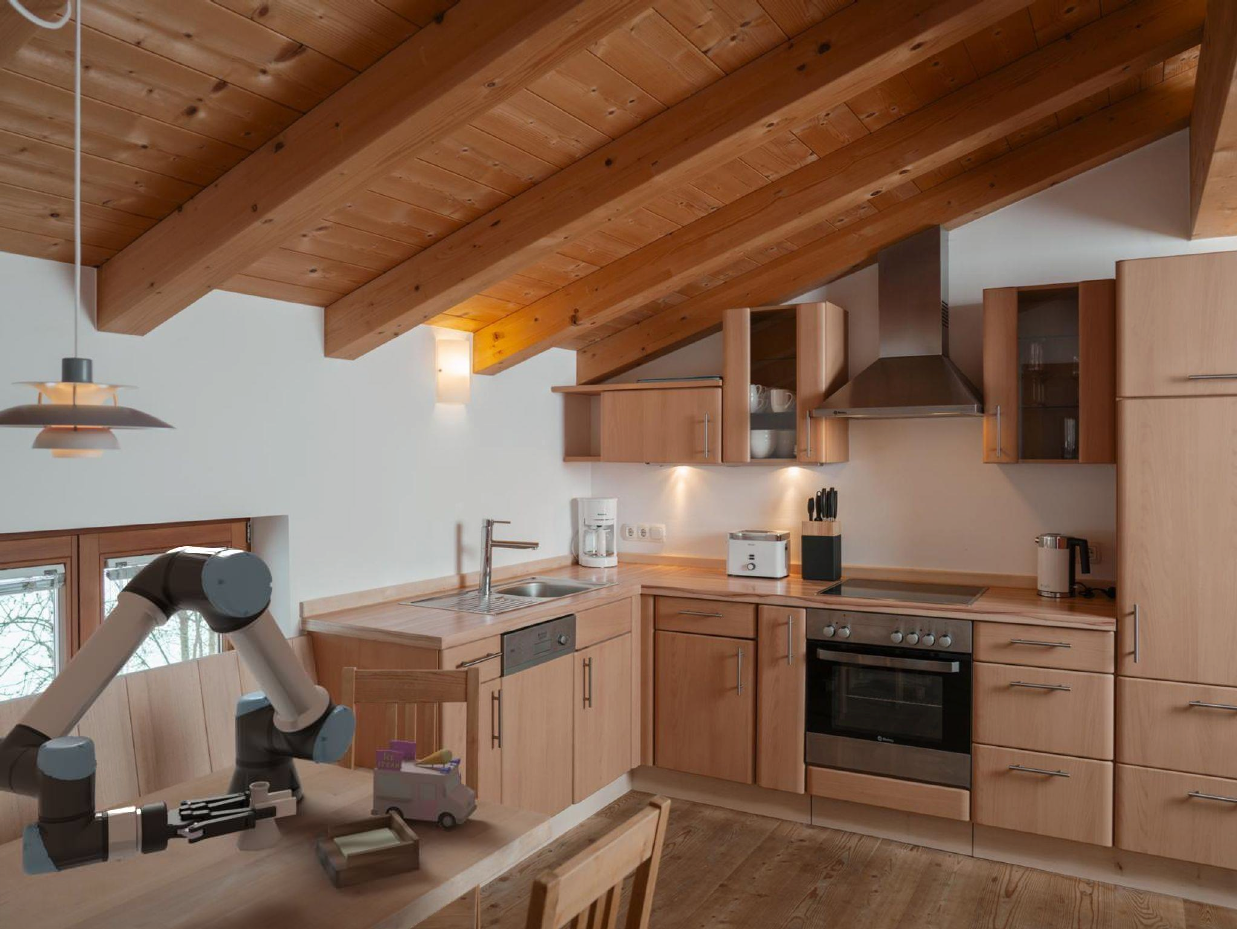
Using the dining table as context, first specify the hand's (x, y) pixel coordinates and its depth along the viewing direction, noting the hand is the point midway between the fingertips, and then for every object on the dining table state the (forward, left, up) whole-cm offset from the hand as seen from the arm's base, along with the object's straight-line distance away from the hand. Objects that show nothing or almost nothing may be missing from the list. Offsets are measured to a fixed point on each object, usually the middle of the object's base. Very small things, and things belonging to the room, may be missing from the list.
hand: (293, 801), depth 155 cm
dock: (-2, +14, -14) cm, 20 cm away
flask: (0, -5, -6) cm, 8 cm away
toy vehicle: (-15, +29, -14) cm, 36 cm away
